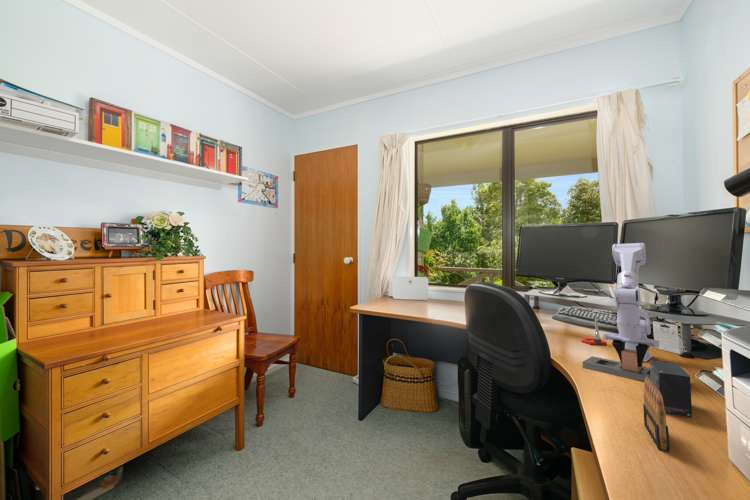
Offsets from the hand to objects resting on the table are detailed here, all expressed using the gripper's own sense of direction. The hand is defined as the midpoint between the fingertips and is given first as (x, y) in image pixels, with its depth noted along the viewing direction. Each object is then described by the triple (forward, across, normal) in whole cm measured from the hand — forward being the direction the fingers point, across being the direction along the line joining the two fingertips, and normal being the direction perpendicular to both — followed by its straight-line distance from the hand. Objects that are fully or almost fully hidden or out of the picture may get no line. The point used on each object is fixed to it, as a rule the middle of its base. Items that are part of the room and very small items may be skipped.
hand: (631, 364), depth 104 cm
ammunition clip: (+3, +14, -40) cm, 42 cm away
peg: (+2, 0, 0) cm, 3 cm away
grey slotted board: (+3, 0, 0) cm, 3 cm away
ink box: (+3, +2, +39) cm, 39 cm away
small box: (+3, +13, -20) cm, 24 cm away
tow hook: (+4, -22, +32) cm, 39 cm away
